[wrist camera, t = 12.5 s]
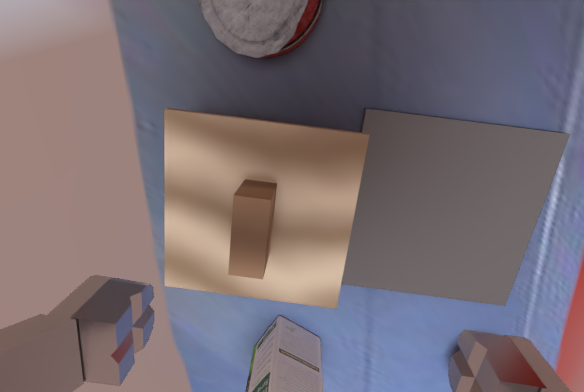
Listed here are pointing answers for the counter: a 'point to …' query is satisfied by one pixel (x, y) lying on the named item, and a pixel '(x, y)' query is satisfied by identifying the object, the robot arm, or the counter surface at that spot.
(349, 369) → the counter surface
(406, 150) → the mat
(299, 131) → the lid
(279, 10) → the canned food
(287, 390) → the syrup box
